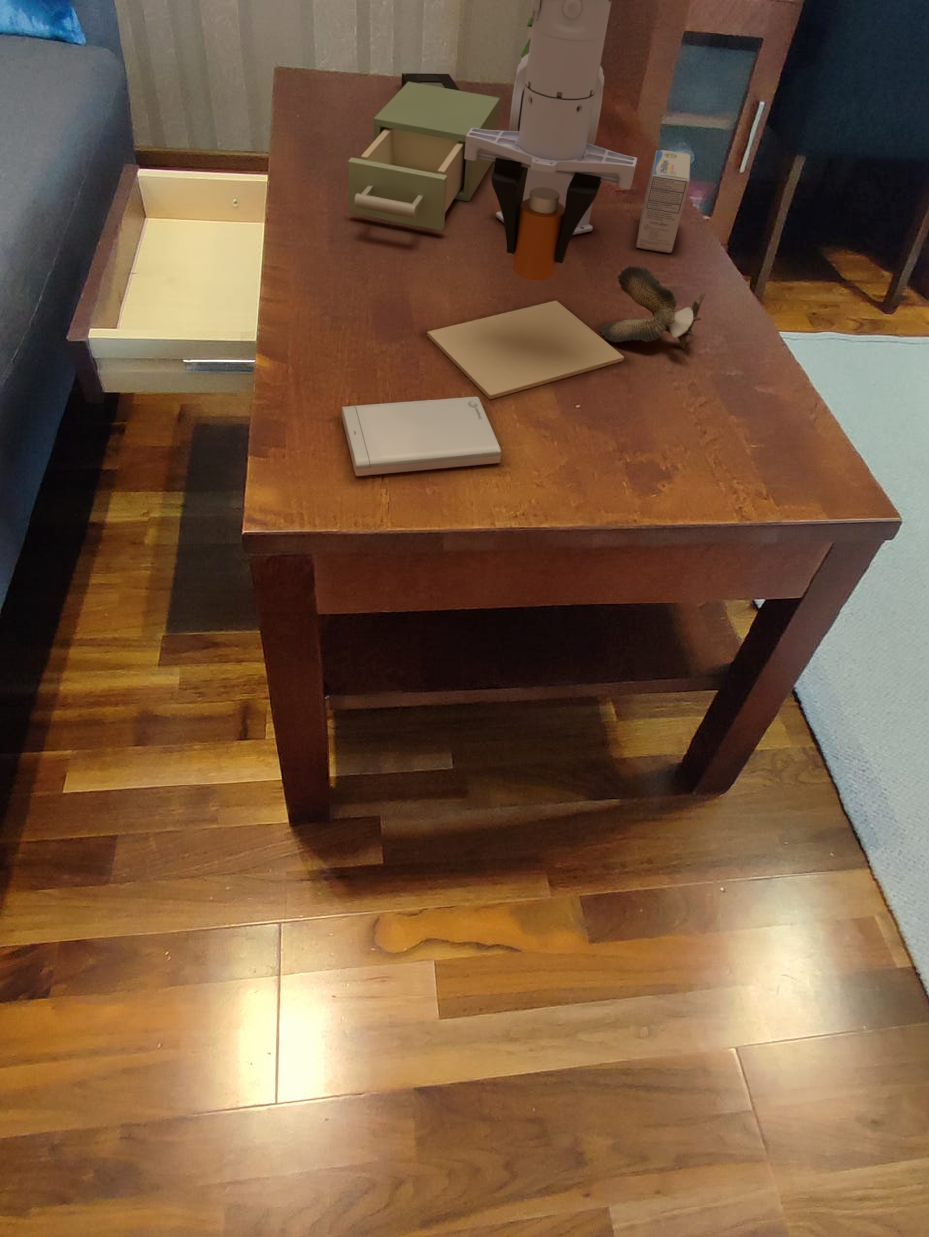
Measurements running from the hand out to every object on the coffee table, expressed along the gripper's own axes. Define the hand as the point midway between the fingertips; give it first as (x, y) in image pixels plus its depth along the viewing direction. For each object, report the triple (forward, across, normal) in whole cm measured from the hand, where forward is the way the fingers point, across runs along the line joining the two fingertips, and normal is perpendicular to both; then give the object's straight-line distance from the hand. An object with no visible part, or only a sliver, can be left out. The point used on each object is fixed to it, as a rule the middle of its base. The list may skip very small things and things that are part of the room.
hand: (535, 253), depth 77 cm
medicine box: (+10, +11, +30) cm, 34 cm away
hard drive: (+10, -5, -19) cm, 22 cm away
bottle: (+2, 0, 0) cm, 2 cm away
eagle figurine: (+10, +12, +6) cm, 17 cm away
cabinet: (+9, -19, +38) cm, 43 cm away
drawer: (+9, -19, +24) cm, 32 cm away
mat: (+10, 0, 0) cm, 10 cm away
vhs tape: (+10, -26, +61) cm, 67 cm away
